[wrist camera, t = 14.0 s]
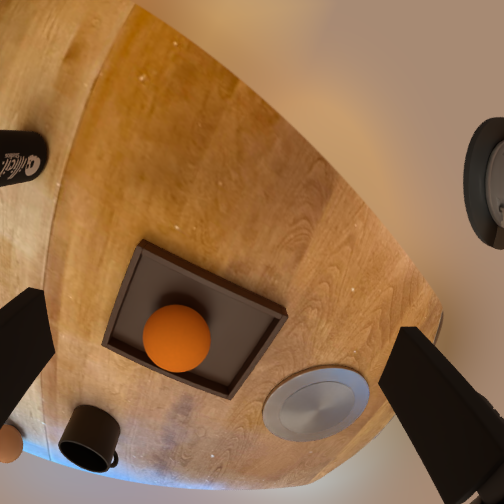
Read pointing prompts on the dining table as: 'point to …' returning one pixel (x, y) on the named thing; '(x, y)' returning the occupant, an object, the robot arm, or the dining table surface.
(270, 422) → the plate
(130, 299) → the tray
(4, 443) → the egg
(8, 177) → the beverage can
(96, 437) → the mug
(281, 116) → the dining table surface
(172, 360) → the orange
